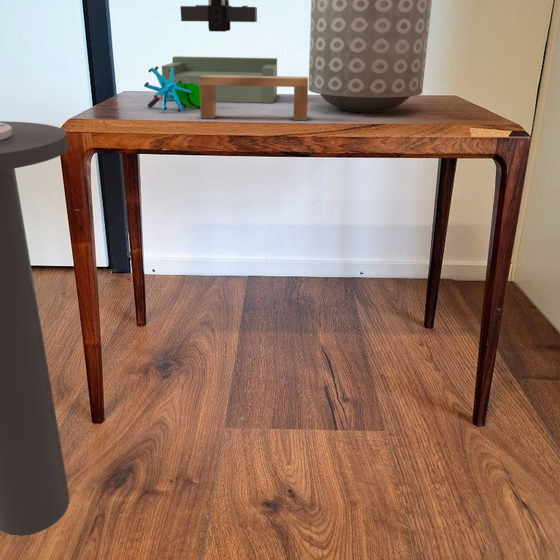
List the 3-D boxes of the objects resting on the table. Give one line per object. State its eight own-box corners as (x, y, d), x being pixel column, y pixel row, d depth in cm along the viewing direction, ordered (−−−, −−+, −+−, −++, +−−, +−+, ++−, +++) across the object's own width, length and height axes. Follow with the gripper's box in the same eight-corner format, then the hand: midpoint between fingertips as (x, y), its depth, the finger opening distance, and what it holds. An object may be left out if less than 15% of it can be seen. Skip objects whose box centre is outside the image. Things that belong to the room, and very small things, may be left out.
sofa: (272, 103, 108) (273, 61, 105) (163, 100, 108) (161, 59, 106) (276, 95, 118) (277, 58, 115) (177, 93, 119) (175, 56, 116)
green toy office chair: (157, 99, 91) (147, 55, 93) (132, 122, 96) (123, 79, 97) (216, 115, 100) (206, 74, 102) (191, 135, 104) (182, 96, 106)
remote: (181, 21, 104) (180, 4, 103) (185, 20, 108) (185, 5, 107) (255, 22, 104) (255, 5, 103) (257, 21, 108) (256, 6, 107)
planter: (430, 118, 93) (445, -11, 86) (309, 116, 93) (313, -13, 86) (409, 103, 110) (419, -6, 103) (306, 101, 111) (310, -7, 103)
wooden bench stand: (200, 118, 90) (199, 76, 87) (203, 115, 93) (202, 75, 90) (306, 120, 90) (308, 78, 87) (306, 117, 92) (307, 76, 90)
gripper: (201, -80, 107) (205, 29, 115) (185, -96, 92) (191, 31, 99) (242, -80, 107) (244, 30, 114) (234, -96, 92) (236, 32, 99)
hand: (219, 29), depth 107 cm, fingers closed on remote, 5 cm apart
